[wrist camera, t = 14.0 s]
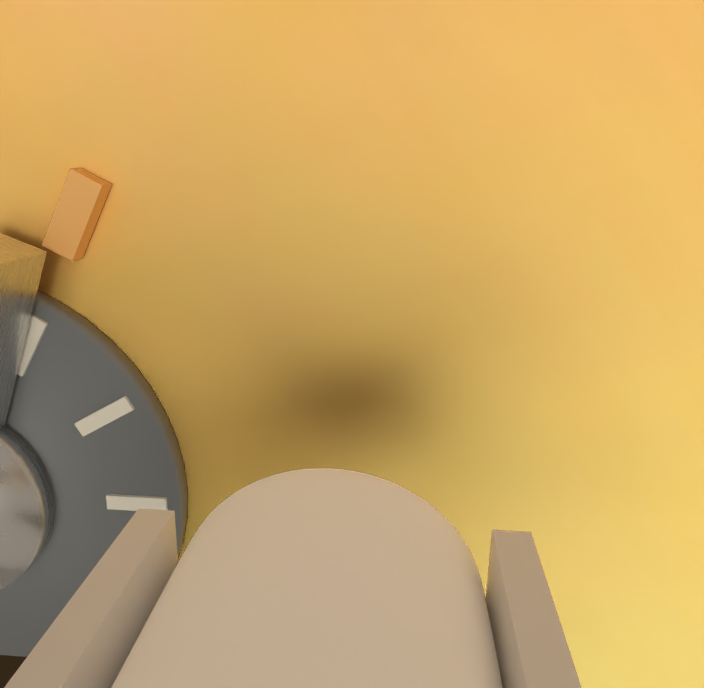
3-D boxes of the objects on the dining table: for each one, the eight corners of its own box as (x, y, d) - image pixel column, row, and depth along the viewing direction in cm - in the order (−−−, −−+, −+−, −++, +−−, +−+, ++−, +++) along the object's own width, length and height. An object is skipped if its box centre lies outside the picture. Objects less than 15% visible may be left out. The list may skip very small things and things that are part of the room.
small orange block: (82, 258, 24) (72, 261, 23) (53, 242, 24) (41, 245, 23) (111, 184, 23) (101, 185, 22) (81, 168, 23) (70, 168, 22)
